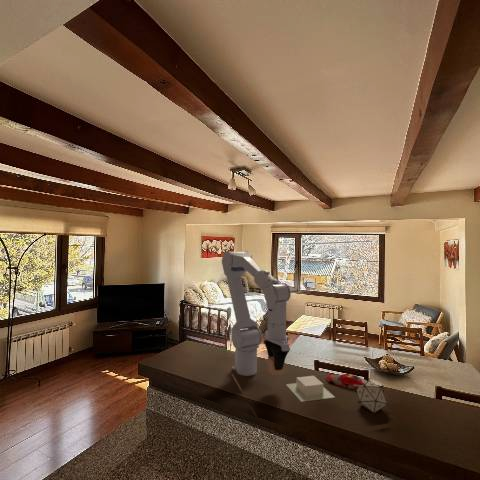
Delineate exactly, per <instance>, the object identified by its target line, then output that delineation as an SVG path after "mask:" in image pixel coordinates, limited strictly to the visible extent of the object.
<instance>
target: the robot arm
mask: <svg viewBox="0 0 480 480" xmlns="http://www.w3.org/2000/svg"><path fill="white" fill-rule="evenodd" d="M221 265H222V270H223V274H224V276H226V281H227V285H228V290H229V293H230V298H231V304H232V308H233V312H234V316H235V321H236V322H235V323H234V325H233V326H232V327H231V329H230V330H231V342H232V345H233V347H234V348H235V350H234V366H231V369H232V371H236V373H237V374H238V375H240V376H245V377H248V376H254V375H256V374H257V371H258V370H257V368H258V367H257V365H258V349H259V348H260V345H261V344H262V343H264V346H265V348H266V352H267V358H268V357H274V366H275V370H282V369H283V365H284V361H286V358H287V357H288V356H287V355H288V354H289V353H290V350H291V348H290V344H289V343H288V340H290V336H289V335H287V302H288V301H289V300H290V299H291V294H292V293H291V288H290V286H288V284H287V283H285V282H280V281H278V279H277V278H275V277H274V276H273V275H272V274H271V273H270V270H266V269H261V267H259V265H258V264H257V263H256V262H255V261H254V260H253V255H252V254H251V253H250V252H249V251H247V250H244V251H239V250H237V251H233V250H232V251H230V250H226V251H225V252H224V253H223V255H222V259H221ZM246 272H247V273H249V274H250V276H252V277H253V282H254V284H255V285H257V287H258V288H259V289H260V290H261V291H262V292H263V296H264V299H265V303H266V304H265V305H266V308H267V324H266V325H267V327H266V329H267V330H265V333H264V334H265V338H266V339H265V340H263V333H262V332H261V330H260V328H259V325H258V323H257V322H256V321H255V320H253V319H252V318H251V314H250V311H249V306H248V302H247V298H246V295H245V290H244V286H243V282H242V276H243V275H245V274H246Z"/></svg>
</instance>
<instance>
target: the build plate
mask: <svg viewBox="0 0 480 480" xmlns="http://www.w3.org/2000/svg"><path fill="white" fill-rule="evenodd" d="M285 386H287V388H288V389H289V390H290V391H291V392H292V393H293V394H294V395H295V396H296V398H297V399H298V400H299V401H300V402H302V403H303V402H304V403H305V402H310V401H318V400H325V399H332V398H336V396H334V395H333V394H332V393H331V392H330V391H329V390H328V389H327V388H325V386H323V394H320V395H312V396H304V394H303V393H302V392H301V391H300V390H299V389H298V388H297V387H296V382H295V383H294V382H293V383H288V384H285Z"/></svg>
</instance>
